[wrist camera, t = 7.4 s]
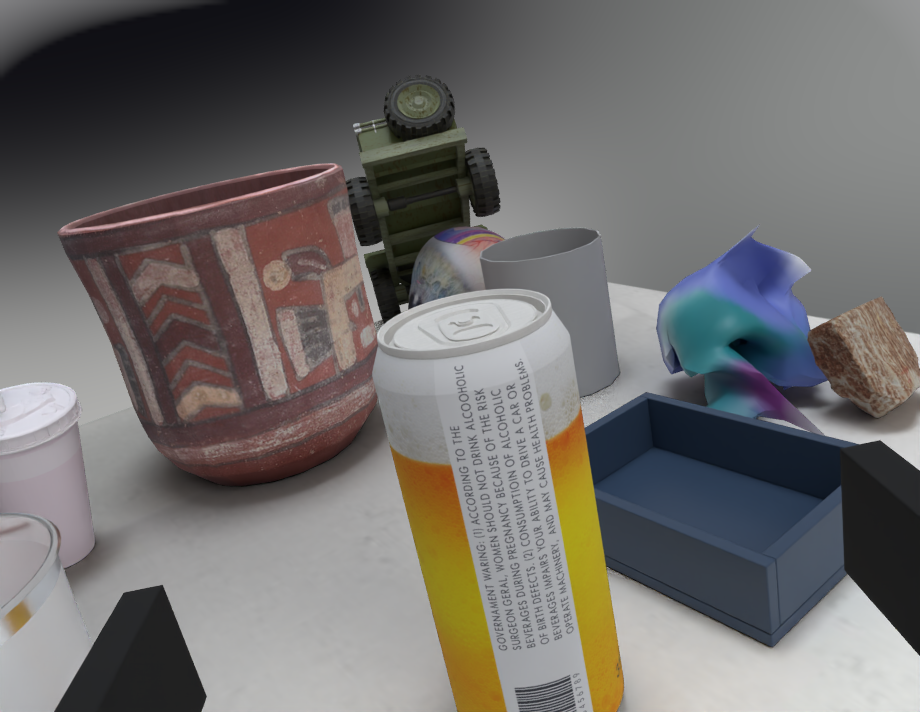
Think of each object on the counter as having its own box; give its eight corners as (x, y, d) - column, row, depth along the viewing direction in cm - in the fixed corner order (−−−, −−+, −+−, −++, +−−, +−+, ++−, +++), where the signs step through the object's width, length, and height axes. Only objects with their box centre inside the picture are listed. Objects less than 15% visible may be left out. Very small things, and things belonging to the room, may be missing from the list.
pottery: (148, 550, 44) (29, 246, 38) (157, 440, 60) (74, 213, 54) (436, 452, 49) (369, 166, 43) (373, 374, 65) (318, 158, 59)
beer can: (586, 625, 31) (525, 272, 26) (657, 736, 26) (597, 315, 21) (444, 674, 30) (352, 317, 25) (486, 801, 25) (379, 375, 20)
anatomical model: (426, 347, 73) (372, 258, 69) (538, 279, 73) (491, 187, 69) (449, 386, 64) (388, 287, 60) (576, 309, 64) (524, 205, 60)
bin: (772, 648, 28) (766, 567, 27) (530, 528, 39) (518, 466, 37) (896, 525, 33) (896, 452, 32) (653, 448, 44) (645, 391, 42)
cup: (642, 375, 53) (624, 235, 50) (537, 413, 51) (511, 268, 48) (580, 346, 61) (561, 223, 58) (487, 378, 59) (461, 251, 55)
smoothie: (-9, 546, 46) (-93, 334, 40) (102, 502, 50) (40, 301, 43) (13, 606, 42) (-78, 377, 35) (133, 553, 45) (70, 337, 39)
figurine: (826, 490, 46) (828, 446, 38) (636, 440, 52) (605, 394, 44) (873, 298, 49) (884, 223, 42) (689, 271, 55) (670, 201, 47)
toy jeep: (499, 309, 80) (471, 223, 85) (502, 159, 57) (463, 52, 62) (386, 338, 80) (364, 250, 84) (344, 198, 57) (315, 87, 61)
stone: (831, 342, 48) (885, 281, 45) (909, 409, 45) (973, 349, 42) (772, 368, 43) (828, 302, 40) (856, 444, 41) (923, 379, 37)
